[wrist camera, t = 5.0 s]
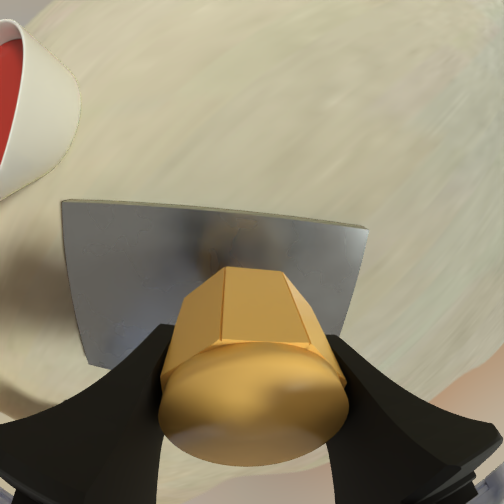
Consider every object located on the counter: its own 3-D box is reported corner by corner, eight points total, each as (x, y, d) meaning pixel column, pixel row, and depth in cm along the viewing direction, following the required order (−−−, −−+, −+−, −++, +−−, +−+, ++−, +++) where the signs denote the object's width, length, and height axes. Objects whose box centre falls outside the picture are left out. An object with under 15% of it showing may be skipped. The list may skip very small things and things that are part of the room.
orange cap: (294, 371, 12) (318, 462, 7) (184, 365, 11) (168, 460, 6) (319, 274, 10) (377, 361, 5) (184, 262, 10) (146, 353, 5)
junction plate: (317, 379, 17) (332, 421, 14) (92, 357, 16) (71, 395, 12) (362, 225, 14) (402, 250, 10) (69, 199, 12) (24, 215, 8)
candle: (-15, 169, 11) (-79, 186, 5) (31, 44, 8) (-30, 23, 2) (65, 219, 13) (-10, 259, 7) (129, 65, 10) (66, 19, 4)
